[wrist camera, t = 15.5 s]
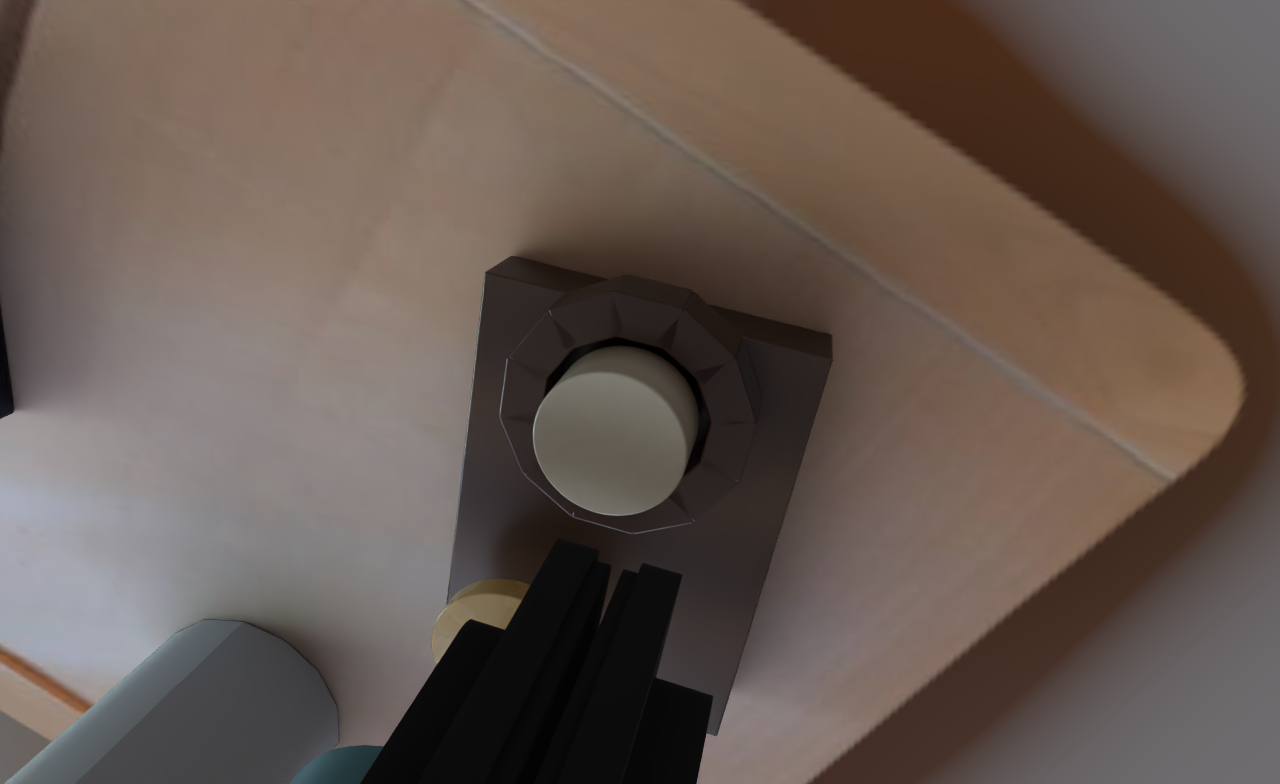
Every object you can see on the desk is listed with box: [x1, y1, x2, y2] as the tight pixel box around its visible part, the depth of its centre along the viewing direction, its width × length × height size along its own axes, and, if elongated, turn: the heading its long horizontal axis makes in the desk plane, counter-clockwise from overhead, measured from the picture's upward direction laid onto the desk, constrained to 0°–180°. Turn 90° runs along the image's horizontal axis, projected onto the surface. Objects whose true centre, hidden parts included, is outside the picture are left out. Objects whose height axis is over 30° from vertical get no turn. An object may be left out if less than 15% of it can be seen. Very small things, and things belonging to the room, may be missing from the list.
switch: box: [533, 346, 699, 516], centre depth 22 cm, size 4×4×2 cm
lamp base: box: [447, 256, 833, 736], centre depth 26 cm, size 15×10×4 cm, turn 169°
